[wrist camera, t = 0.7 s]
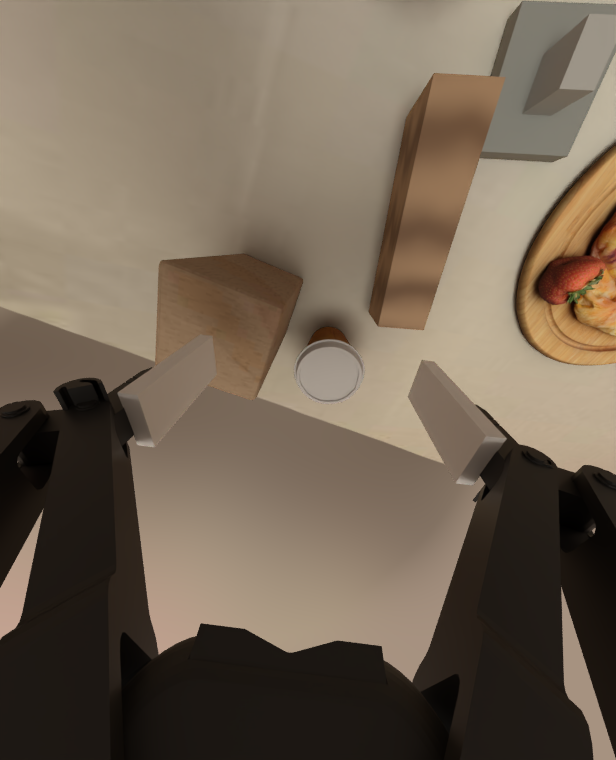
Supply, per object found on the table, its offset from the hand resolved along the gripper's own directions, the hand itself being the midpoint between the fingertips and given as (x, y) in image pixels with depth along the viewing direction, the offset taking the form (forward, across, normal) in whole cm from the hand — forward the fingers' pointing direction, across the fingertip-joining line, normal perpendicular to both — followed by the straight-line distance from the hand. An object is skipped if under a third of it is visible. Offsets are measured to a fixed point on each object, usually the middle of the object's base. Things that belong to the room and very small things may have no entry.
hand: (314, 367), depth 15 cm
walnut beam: (+26, +11, +9) cm, 29 cm away
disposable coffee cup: (+25, +2, -8) cm, 27 cm away
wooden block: (+25, -9, -1) cm, 27 cm away
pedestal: (+25, +20, +23) cm, 40 cm away
